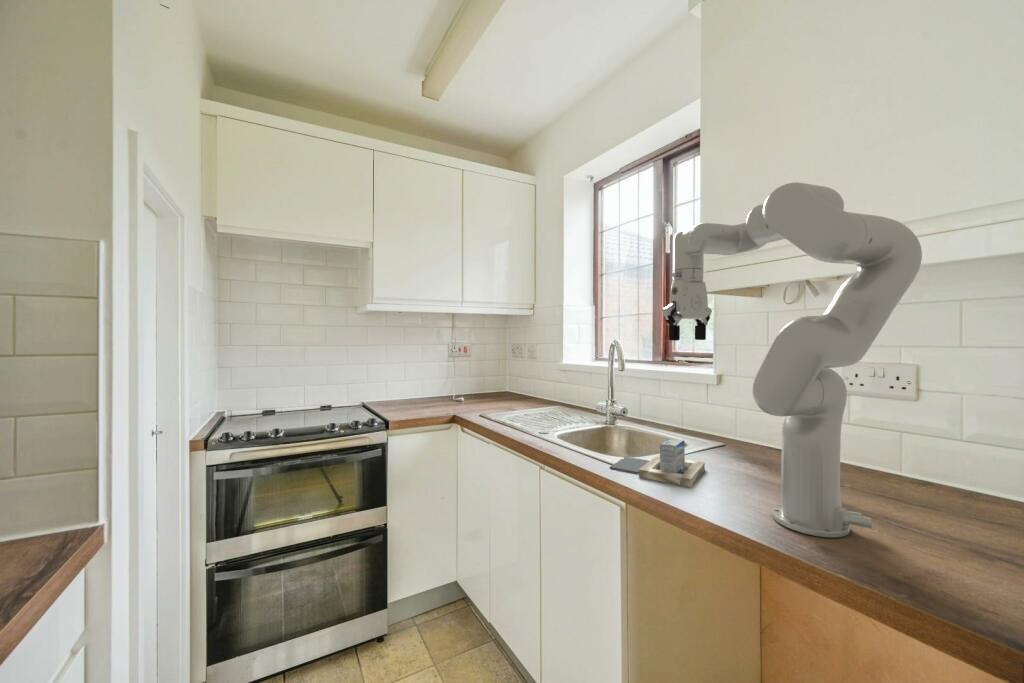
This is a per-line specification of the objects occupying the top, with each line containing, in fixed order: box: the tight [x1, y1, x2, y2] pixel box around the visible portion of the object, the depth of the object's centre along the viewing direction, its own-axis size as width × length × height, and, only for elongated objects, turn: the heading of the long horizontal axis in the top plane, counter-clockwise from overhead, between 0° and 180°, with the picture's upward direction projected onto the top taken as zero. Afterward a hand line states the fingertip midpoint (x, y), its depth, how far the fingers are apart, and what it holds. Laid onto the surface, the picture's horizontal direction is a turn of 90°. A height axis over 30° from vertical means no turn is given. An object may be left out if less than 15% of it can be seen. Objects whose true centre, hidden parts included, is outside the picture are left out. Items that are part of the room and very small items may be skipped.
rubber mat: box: [609, 456, 650, 475], centre depth 120 cm, size 8×12×1 cm, turn 144°
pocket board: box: [638, 454, 706, 488], centre depth 113 cm, size 13×16×2 cm
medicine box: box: [659, 438, 686, 474], centre depth 113 cm, size 8×4×9 cm, turn 143°
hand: (687, 340), depth 114 cm, fingers open, 9 cm apart
